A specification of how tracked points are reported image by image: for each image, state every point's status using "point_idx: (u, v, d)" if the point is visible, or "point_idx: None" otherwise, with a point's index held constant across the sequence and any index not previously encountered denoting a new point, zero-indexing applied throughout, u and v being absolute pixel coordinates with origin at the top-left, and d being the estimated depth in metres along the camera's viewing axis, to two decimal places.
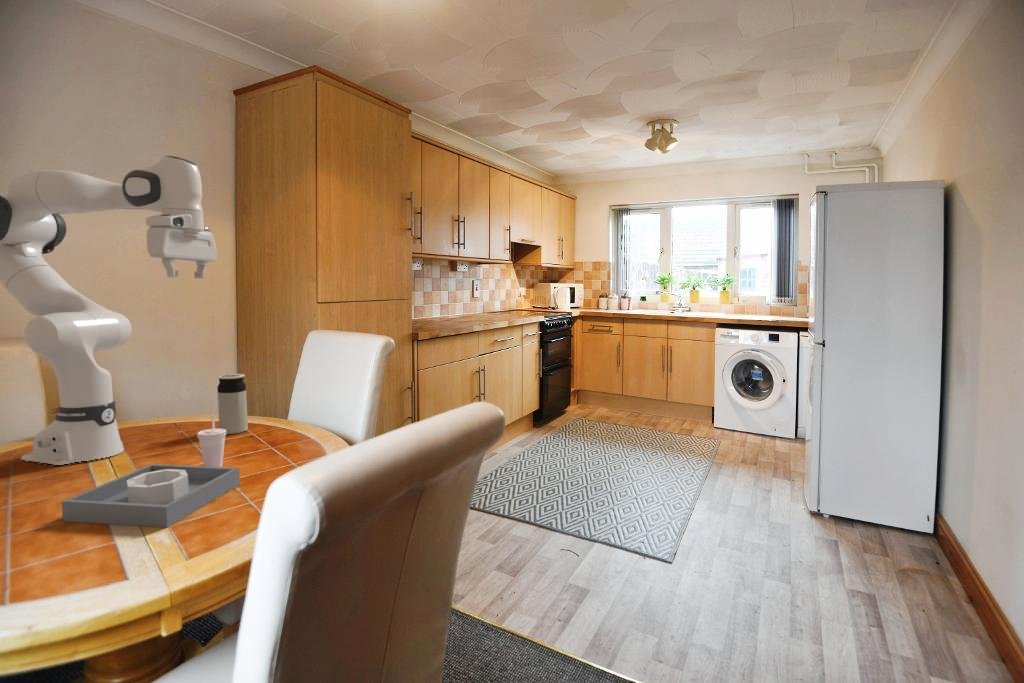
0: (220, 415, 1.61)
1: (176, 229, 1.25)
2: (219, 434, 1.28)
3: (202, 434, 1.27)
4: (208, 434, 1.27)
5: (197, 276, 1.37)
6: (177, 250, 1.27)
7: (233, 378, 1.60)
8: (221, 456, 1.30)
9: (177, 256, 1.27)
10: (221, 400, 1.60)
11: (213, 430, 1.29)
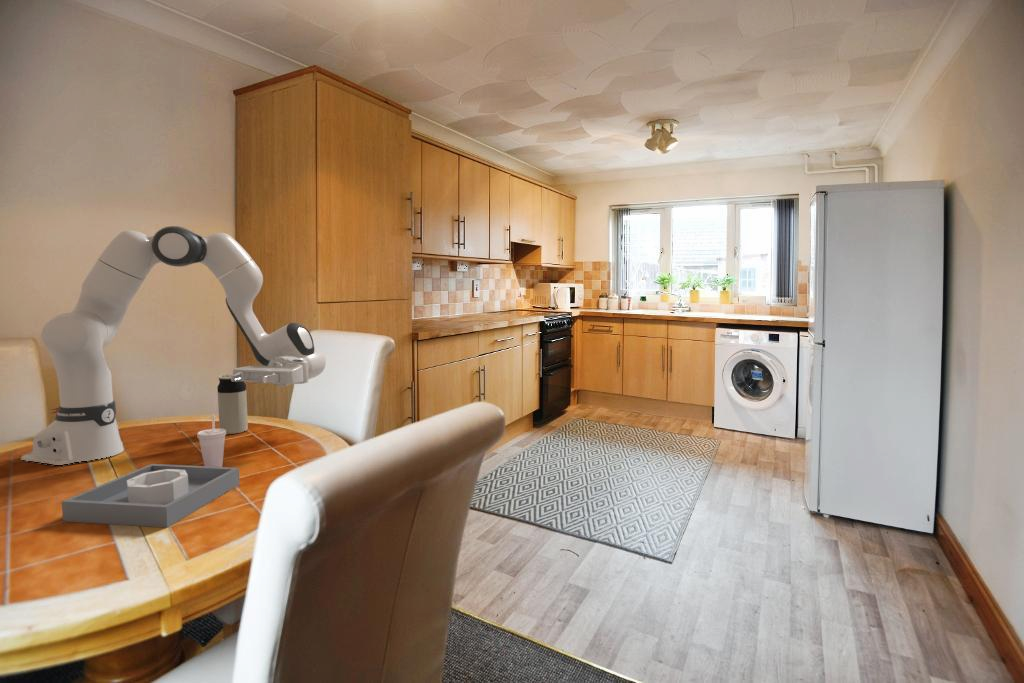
0: (220, 415, 1.61)
1: None
2: (219, 434, 1.28)
3: (202, 434, 1.27)
4: (208, 434, 1.27)
5: (236, 378, 1.41)
6: None
7: None
8: (221, 456, 1.30)
9: (276, 383, 1.43)
10: (221, 400, 1.60)
11: (213, 430, 1.29)
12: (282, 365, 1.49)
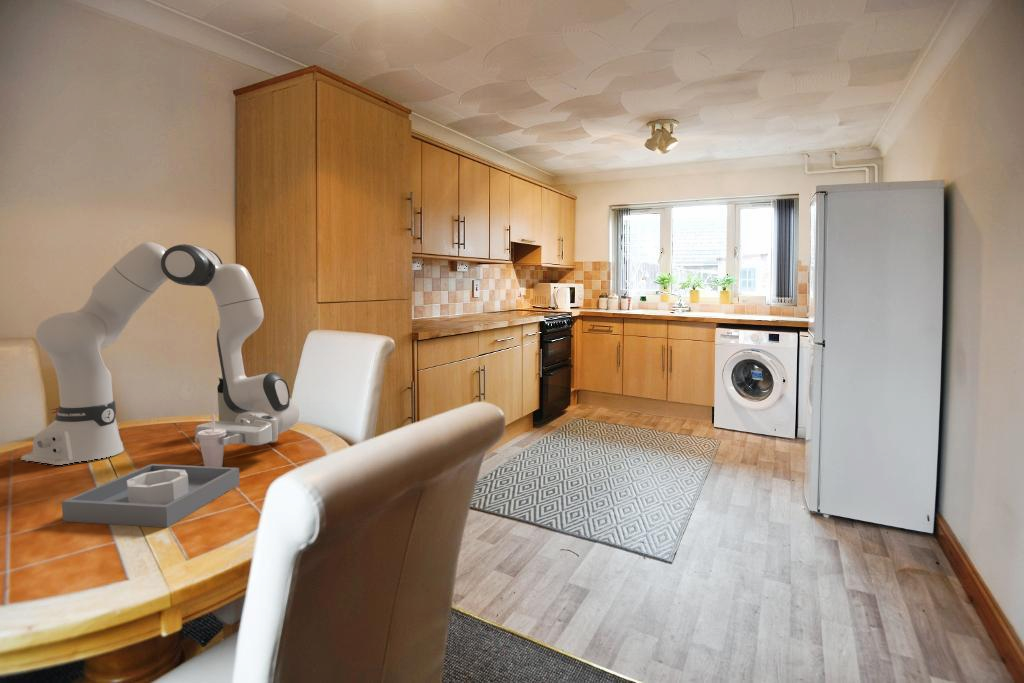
0: (220, 415, 1.61)
1: None
2: (219, 434, 1.28)
3: (202, 434, 1.27)
4: (208, 434, 1.27)
5: None
6: None
7: None
8: (221, 456, 1.30)
9: (241, 443, 1.33)
10: (221, 400, 1.60)
11: (213, 430, 1.29)
12: (250, 422, 1.39)
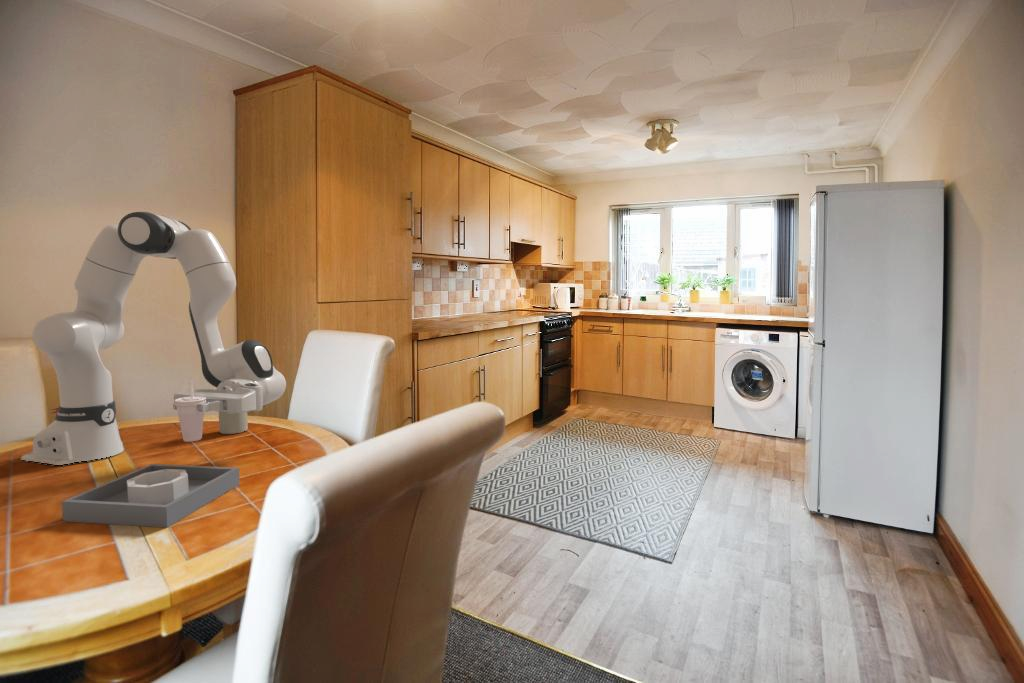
0: (220, 415, 1.61)
1: None
2: (198, 401, 1.20)
3: (179, 401, 1.19)
4: (186, 401, 1.19)
5: None
6: None
7: None
8: (200, 425, 1.21)
9: (223, 411, 1.24)
10: None
11: (191, 397, 1.21)
12: (232, 390, 1.30)
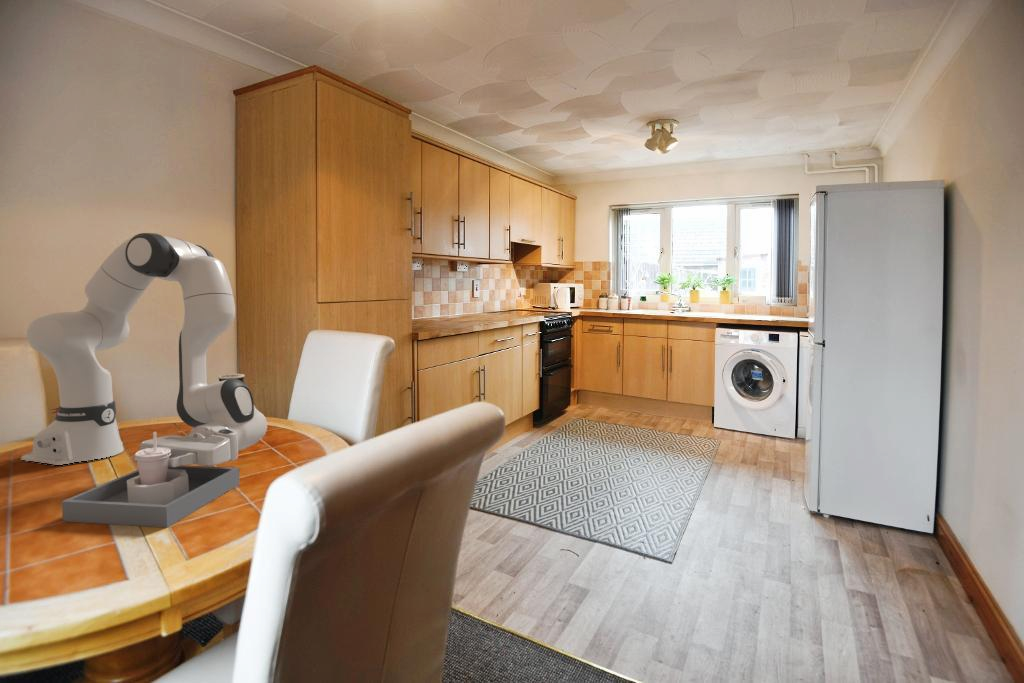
0: None
1: None
2: (161, 456, 1.09)
3: (140, 455, 1.08)
4: (147, 455, 1.08)
5: None
6: None
7: (233, 378, 1.60)
8: (163, 481, 1.10)
9: (193, 463, 1.13)
10: None
11: (154, 450, 1.09)
12: (205, 437, 1.19)
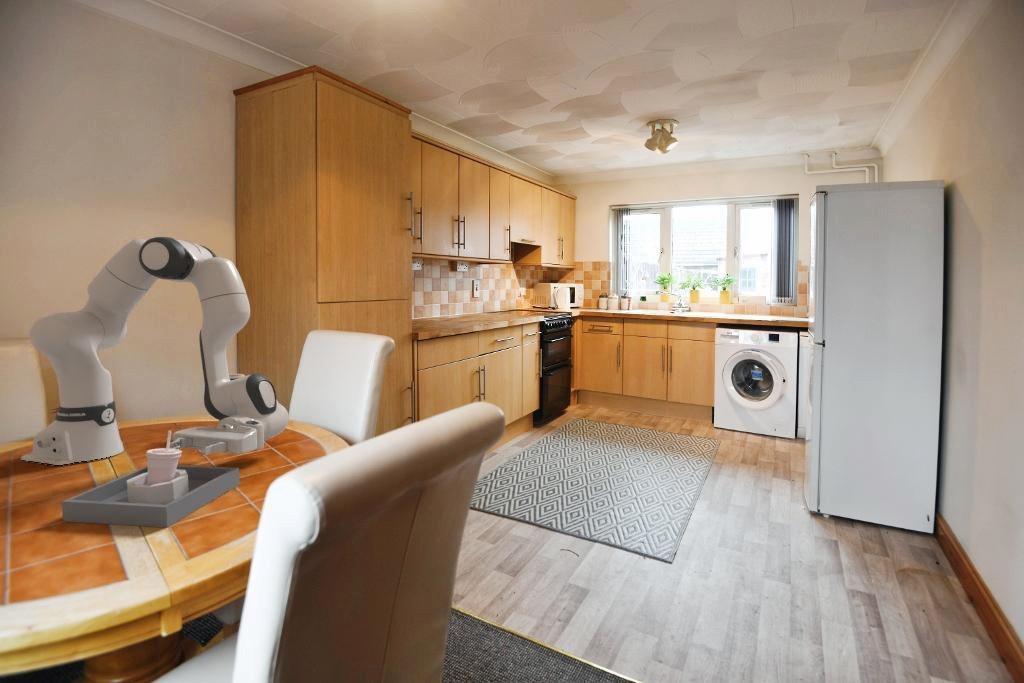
0: None
1: None
2: (180, 452, 1.11)
3: (162, 454, 1.08)
4: (170, 453, 1.09)
5: (174, 447, 1.18)
6: None
7: (233, 378, 1.60)
8: None
9: None
10: None
11: (168, 449, 1.10)
12: (233, 428, 1.26)
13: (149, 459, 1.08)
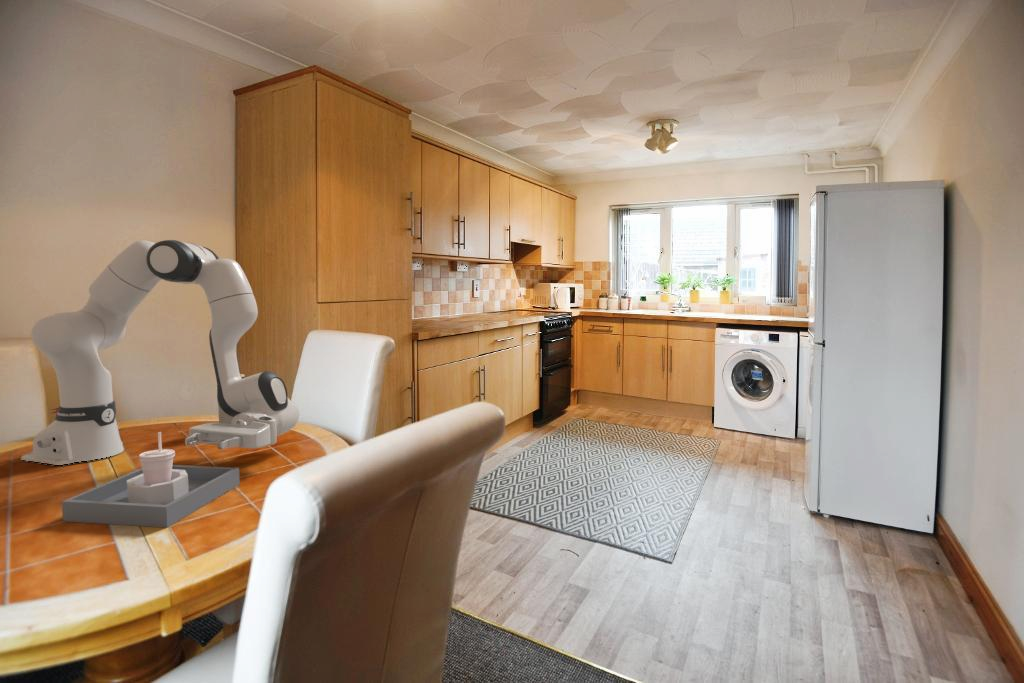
0: (220, 415, 1.61)
1: None
2: (174, 452, 1.11)
3: (155, 456, 1.07)
4: (163, 454, 1.08)
5: (191, 441, 1.22)
6: None
7: None
8: None
9: (238, 446, 1.25)
10: None
11: (160, 450, 1.09)
12: (247, 424, 1.30)
13: (143, 462, 1.07)
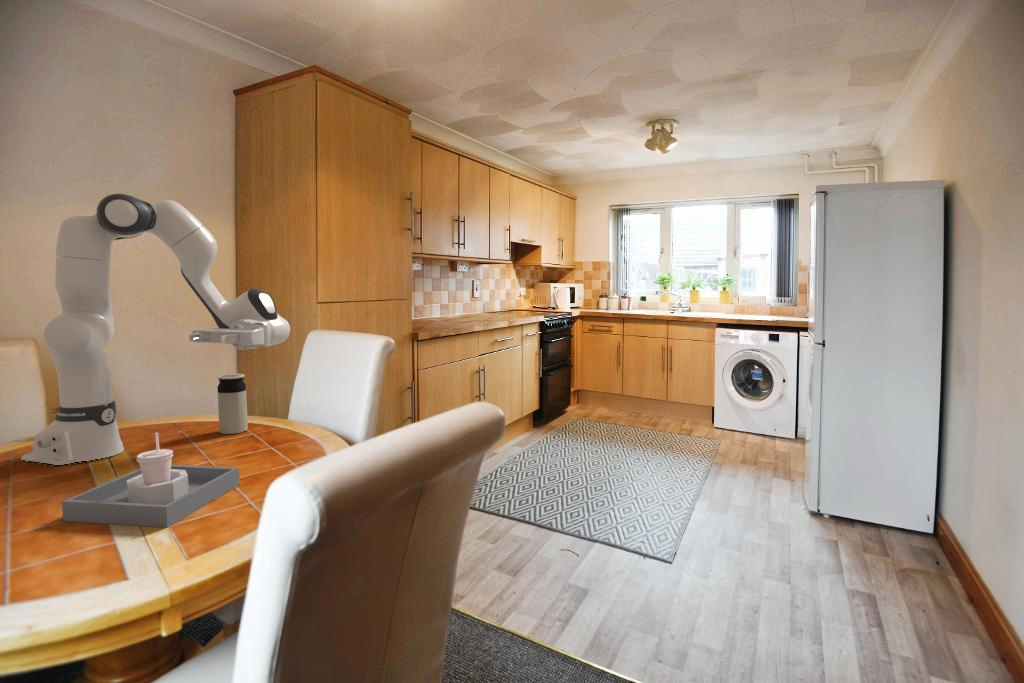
0: (220, 415, 1.61)
1: (256, 345, 1.48)
2: (172, 452, 1.10)
3: (154, 457, 1.07)
4: (161, 455, 1.08)
5: (194, 337, 1.40)
6: None
7: (233, 378, 1.60)
8: None
9: (235, 344, 1.42)
10: (221, 400, 1.60)
11: (158, 451, 1.09)
12: (243, 328, 1.48)
13: (141, 464, 1.06)
